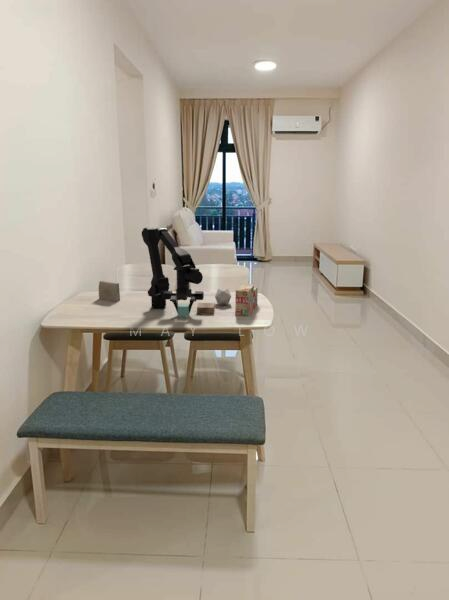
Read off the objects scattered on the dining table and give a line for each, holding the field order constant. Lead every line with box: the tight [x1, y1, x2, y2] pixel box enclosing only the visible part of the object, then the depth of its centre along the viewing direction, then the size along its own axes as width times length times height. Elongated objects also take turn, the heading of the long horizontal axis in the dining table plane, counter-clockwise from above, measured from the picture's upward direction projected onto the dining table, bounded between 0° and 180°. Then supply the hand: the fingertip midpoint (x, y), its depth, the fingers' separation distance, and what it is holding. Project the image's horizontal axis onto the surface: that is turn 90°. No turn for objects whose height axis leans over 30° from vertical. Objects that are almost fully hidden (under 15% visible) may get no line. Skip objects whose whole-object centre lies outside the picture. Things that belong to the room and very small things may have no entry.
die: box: [214, 288, 232, 306], centre depth 227 cm, size 8×9×10 cm
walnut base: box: [196, 302, 215, 315], centre depth 215 cm, size 8×8×3 cm
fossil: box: [98, 280, 121, 303], centre depth 233 cm, size 12×4×10 cm, turn 62°
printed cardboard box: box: [234, 283, 259, 317], centre depth 217 cm, size 21×6×12 cm, turn 164°
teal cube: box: [177, 303, 191, 318], centre depth 208 cm, size 5×5×5 cm
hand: (183, 313), depth 209 cm, fingers closed on teal cube, 5 cm apart
